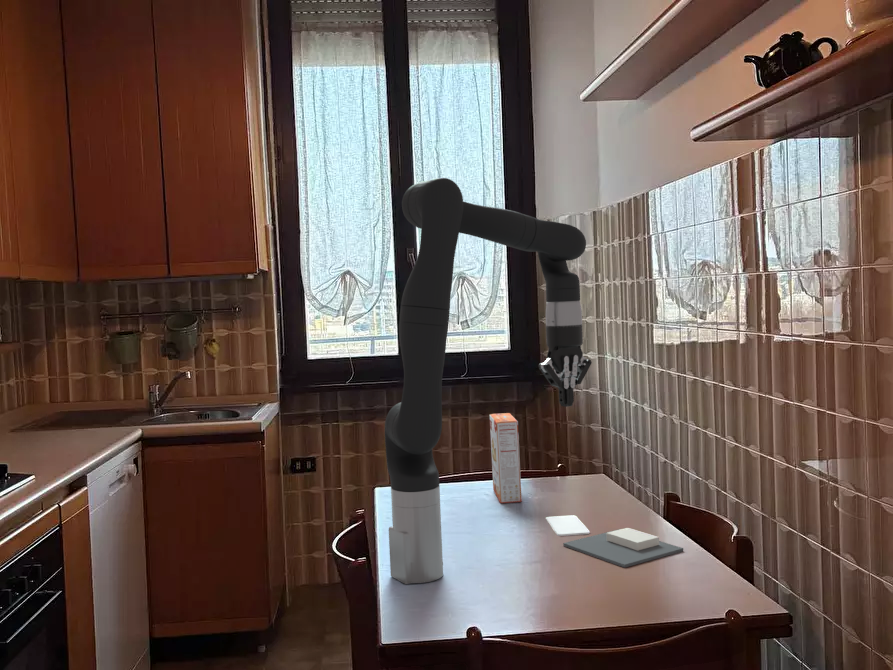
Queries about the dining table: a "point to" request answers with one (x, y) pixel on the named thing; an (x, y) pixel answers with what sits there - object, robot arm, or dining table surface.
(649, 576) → the dining table surface
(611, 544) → the mat
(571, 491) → the dining table surface
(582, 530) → the smartphone
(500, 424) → the cracker box
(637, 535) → the card box
